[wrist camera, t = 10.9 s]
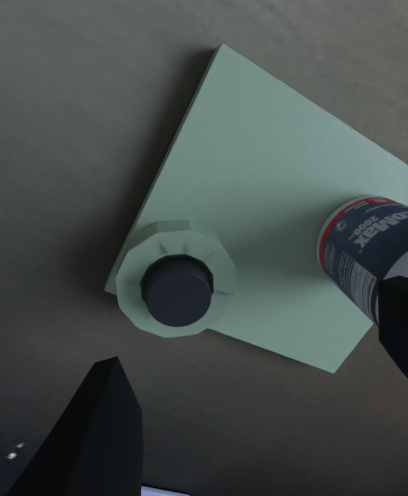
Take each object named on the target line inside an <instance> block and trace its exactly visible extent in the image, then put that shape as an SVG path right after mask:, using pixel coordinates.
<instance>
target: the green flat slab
mask: <svg viewBox="0 0 408 496" xmlns="http://www.w3.org/2000/svg"><path fill="white" fill-rule="evenodd" d="M363 196H381V197H385V198H388V199H391V200H394V201H396V202H399V203H401V204H404V205H406V206H408V165H407V164H406V163H404V162H403V161H401V160H400V159H398V158H397V157H395V156H393V155H392V154H390V153H389V152H387V151H386V150H384V149H383V148H381V147H380V146H378V145H377V144H375V143H374V142H372V141H371V140H369V139H368V138H366V137H365V136H363V135H362V134H360V133H359V132H357V131H356V130H354V129H352V128H351V127H349V126H348V125H346V124H345V123H343V122H342V121H340V120H339V119H337V118H336V117H334V116H333V115H331V114H330V113H328V112H327V111H325V110H324V109H322V108H321V107H319V106H318V105H316V104H315V103H313V102H311V101H310V100H308V99H307V98H305V97H304V96H302V95H301V94H299V93H298V92H296V91H295V90H293V89H292V88H290V87H289V86H287V85H286V84H284V83H283V82H281V81H280V80H278V79H277V78H275V77H274V76H272V75H270V74H269V73H267V72H266V71H264V70H263V69H261V68H260V67H258V66H257V65H255V64H254V63H252V62H251V61H249V60H248V59H246V58H245V57H243V56H242V55H240V54H239V53H237V52H236V51H234V50H233V49H231V48H229V47H228V46H226V45H225V44H223V43H221V44H220V45H219V46H218V47H217V48H216V49H215V51H214V53H213V55H212V57H211V60H210V62H209V64H208V66H207V68H206V70H205V72H204V74H203V76H202V79H201V81H200V83H199V85H198V87H197V89H196V91H195V93H194V96H193V98H192V100H191V102H190V104H189V106H188V108H187V110H186V113H185V115H184V117H183V119H182V121H181V123H180V125H179V127H178V130H177V132H176V134H175V136H174V138H173V140H172V142H171V144H170V146H169V149H168V151H167V153H166V155H165V157H164V159H163V161H162V163H161V166H160V168H159V170H158V172H157V174H156V176H155V178H154V180H153V183H152V185H151V187H150V189H149V191H148V193H147V195H146V197H145V200H144V202H143V204H142V206H141V208H140V210H139V212H138V214H137V216H136V219H135V221H134V223H133V225H132V227H131V229H130V231H129V233H128V236H127V238H126V240H125V242H124V244H123V246H122V248H121V250H120V253H119V255H118V257H117V259H116V261H115V263H114V265H113V267H112V270H111V272H110V274H109V276H108V278H107V282H106V285H105V289H104V290H105V291H106V292H109V293H112V294H115V295H117V299H118V306H119V308H120V309H121V310H122V312H123V313H124V314H125V315H126V316H127V317H128V318H129V319H130V320H131V321H132V322H133V324H134V325H135V326H136V327H137V328H139V329H141V330H144V331H147V332H149V333H152V334H155V335H158V336H161V337H164V338H166V337H167V338H171V337H179V336H188V335H195V334H198V333H200V332H201V331H203V330H205V329H206V328H209V329H212V330H214V331H217V332H220V333H223V334H225V335H228V336H231V337H234V338H236V339H239V340H242V341H245V342H248V343H250V344H253V345H256V346H259V347H261V348H264V349H267V350H270V351H272V352H275V353H278V354H281V355H283V356H286V357H289V358H292V359H295V360H297V361H300V362H303V363H306V364H308V365H311V366H314V367H317V368H319V369H322V370H325V371H328V372H331V373H335V372H336V370H337V369H338V368H339V366H340V365H341V364H342V363H343V361H344V360H345V359H346V357H347V356H348V355H349V354H350V352H351V351H352V350H353V349H354V347H355V346H356V345H357V343H358V342H359V341H360V340H361V338H362V337H363V336H364V335H365V333H366V332H367V331H368V329H369V328H370V327H371V326H372V324H373V322H372V321H371V320H370V319H369V318H368V317H367V316H366V315H365V314H364V313H363V312H362V311H361V310H360V309H359V308H358V307H357V306H356V305H355V304H354V303H353V302H352V301H351V300H350V299H349V298H348V297H347V296H346V295H345V294H344V293H343V292H342V291H341V290H340V289H339V288H338V287H337V286H336V285H335V284H334V283H333V282H332V281H331V280H330V279H329V278H328V277H327V276H326V275H325V273H324V272H323V271H322V269H321V268H320V266H319V263H318V260H317V255H316V245H317V239H318V235H319V233H320V230H321V228H322V226H323V225H324V223H325V221H326V220H327V219H328V218H329V216H330V215H331V214H332V213H333V212H334V211H335V210H336V209H338V208H339V207H340V206H342V205H343V204H345V203H347V202H349V201H351V200H353V199H356V198H359V197H363ZM170 258H186V259H189V260H192V261H194V262H196V263H197V264H198V265H199V266H200V267H201V268H202V269H203V271H204V272H205V275H206V277H207V281H208V284H209V287H210V290H211V304H210V307H209V309H208V311H207V312H206V314H205V315H204V316H203V317H202V318H201V319H200V320H198V321H197V322H195V323H193V324H191V325H188V326H184V327H170V326H166V325H164V324H161V323H160V322H158V321H157V320H155V319H154V318H153V317H152V315H151V314H150V312H149V310H148V308H147V304H146V291H147V280H148V276H149V274H150V272H151V271H152V270H153V268H154V267H155V266H156V265H158V264H159V263H160V262H162V261H164V260H167V259H170Z"/></svg>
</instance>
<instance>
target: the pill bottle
mask: <svg viewBox="0 0 408 496" xmlns="http://www.w3.org/2000/svg"><path fill="white" fill-rule="evenodd" d="M316 255H317V260H318V263H319V266H320V268H321V269H322V271H323V272H324V273H325V275H326V276H327V277H328V278H329V279H330V280H331V281H332V282H333V283H334V284H335V285H336V286H337V287H338V288H339V289H340V290H341V291H342V292H343V293H344V294H345V295H346V296H347V297H348V298H349V299H350V300H351V301H352V302H353V303H354V304H355V305H356V306H357V307H358V308H359V309H360V310H361V311H362V312H363V313H364V314H365V315H366V316H367V317H368V318H369V319H370V320H371V321H372V322H373V323H374V324H375V325H376V326H377V327H378V328H379V320H378V283H377V281H381V280H384V279H388V278H391V277H395V276H398V275H400V276H404V277H408V206H406V205H404V204H401V203H399V202H396V201H394V200H391V199H388V198H385V197H381V196H363V197H359V198H356V199H353V200H351V201H349V202H347V203H345V204H343V205H342V206H340V207H339V208H338V209H336V210H335V211H334V212H333V213H332V214H331V215H330V216H329V218H328V219H327V220H326V221H325V223H324V225H323V226H322V228H321V230H320V233H319V235H318V239H317V245H316Z"/></svg>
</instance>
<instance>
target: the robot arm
mask: <svg viewBox="0 0 408 496" xmlns="http://www.w3.org/2000/svg"><path fill="white" fill-rule="evenodd" d="M377 283H378V320H379V341H380V343H381V344H382V345H383V347H384V348H385V350H386V351H387V352H388V354H389V355H390V357H391V358H392V359H393V361H394V362H395V363H396V365H397V366H398V367H399V369H400V370H401V371H402V372H403V374H404V375H405V376H406V377H407V378H408V277H404V276H400V275H398V276H395V277H391V278H388V279H384V280H381V281H377ZM143 453H144V446H143V425H142V410H141V408H140V406H139V403H138V401H137V399H136V397H135V394H134V392H133V390H132V388H131V386H130V383H129V381H128V379H127V377H126V374H125V372H124V370H123V368H122V365H121V363H120V361H119V359H118V357H113V358H110V359H106V360H103V361H99V362H96V363H94V365H93V366H92V368H91V369H90V371H89V372H88V374H87V376H86V377H85V379H84V380H83V382H82V384H81V385H80V387H79V388H78V390H77V392H76V393H75V395H74V396H73V398H72V400H71V401H70V403H69V404H68V406H67V407H66V409H65V411H64V412H63V414H62V415H61V417H60V418H59V420H58V421H57V423H56V424H55V426H54V427H53V429H52V431H51V432H50V434H49V435H48V437H47V438H46V440H45V441H44V442H43V444H42V445H41V447H40V448H39V450H38V451H37V452H36V454H35V455H34V457H33V458H32V459H31V461H30V462H29V464H28V465H27V467H26V468H25V469H24V471H23V472H22V474H21V475H20V476H19V478H18V479H17V481H16V482H15V484H14V485H13V486H12V488H11V489H10V490H9V492H8V493H7V494H6V496H190V495H188V494H182V493H177V492H172V491H167V490H161V489H156V488H151V487H146V486H142V472H143Z"/></svg>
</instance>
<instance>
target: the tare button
mask: <svg viewBox="0 0 408 496" xmlns="http://www.w3.org/2000/svg"><path fill="white" fill-rule="evenodd" d="M146 304H147V308H148V310H149V312H150V314H151V315H152V317H153V318H154V319H155V320H157V321H158V322H160V323H161V324H164V325H166V326H170V327H184V326H188V325H191V324H193V323H195V322H197V321H198V320H200V319H201V318H202V317H203V316H204V315H205V314H206V312H207V311H208V309H209V307H210V304H211V290H210V287H209V284H208V281H207V277H206V275H205V272H204V271H203V269H202V268H201V267H200V266H199V265H198V264H197V263H196V262H194V261H192V260H189V259H186V258H170V259H167V260H164V261H162V262H160V263H159V264H158V265H156V266H155V267H154V268H153V270H152V271H151V272H150V274H149V276H148V280H147V291H146Z"/></svg>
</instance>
